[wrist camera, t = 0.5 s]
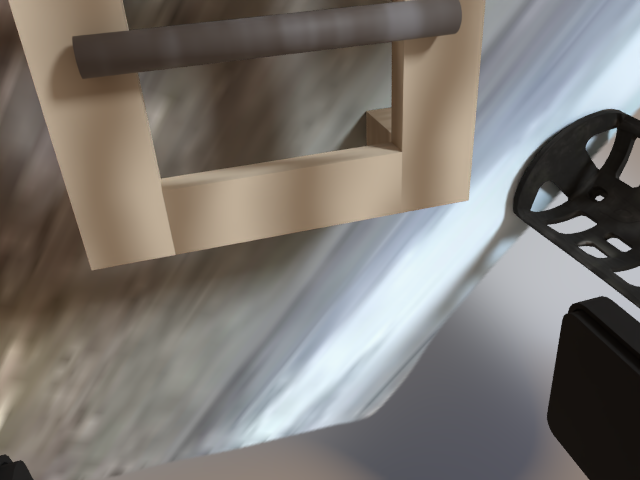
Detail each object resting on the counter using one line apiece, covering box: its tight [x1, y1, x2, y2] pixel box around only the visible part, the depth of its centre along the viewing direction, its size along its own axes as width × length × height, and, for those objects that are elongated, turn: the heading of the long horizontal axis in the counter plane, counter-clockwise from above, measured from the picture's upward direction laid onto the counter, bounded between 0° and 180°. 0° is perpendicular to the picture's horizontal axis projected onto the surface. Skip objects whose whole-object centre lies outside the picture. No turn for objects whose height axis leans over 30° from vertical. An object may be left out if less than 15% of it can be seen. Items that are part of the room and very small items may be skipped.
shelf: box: [8, 0, 485, 270], centre depth 28 cm, size 20×20×12 cm
